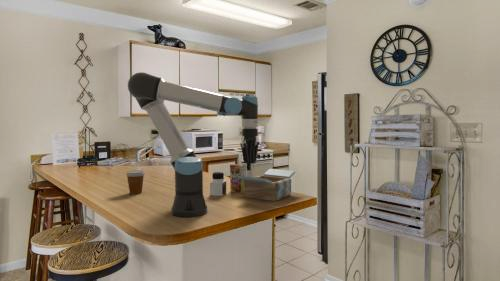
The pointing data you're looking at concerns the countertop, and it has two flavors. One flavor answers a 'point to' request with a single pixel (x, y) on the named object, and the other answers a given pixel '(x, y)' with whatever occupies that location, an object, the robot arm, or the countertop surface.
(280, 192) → the carton
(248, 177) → the near flap
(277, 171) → the far flap
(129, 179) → the disposable coffee cup
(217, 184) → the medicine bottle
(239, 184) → the candy box
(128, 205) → the countertop surface
